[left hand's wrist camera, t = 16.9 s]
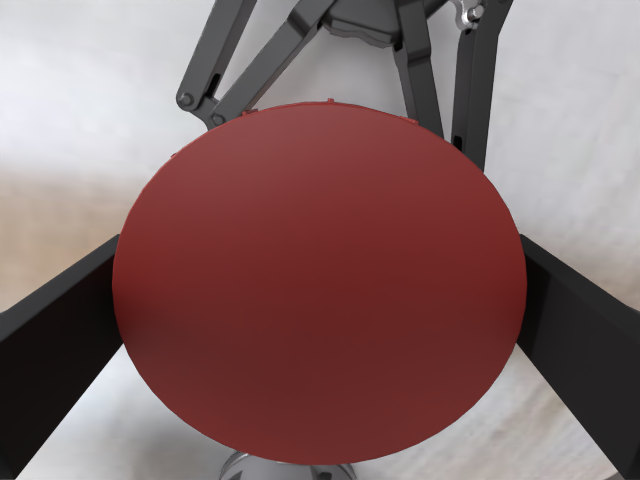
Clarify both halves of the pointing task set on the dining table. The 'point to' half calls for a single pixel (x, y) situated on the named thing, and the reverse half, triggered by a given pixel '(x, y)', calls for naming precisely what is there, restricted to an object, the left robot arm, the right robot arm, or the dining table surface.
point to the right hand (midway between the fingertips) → (304, 255)
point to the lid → (319, 283)
